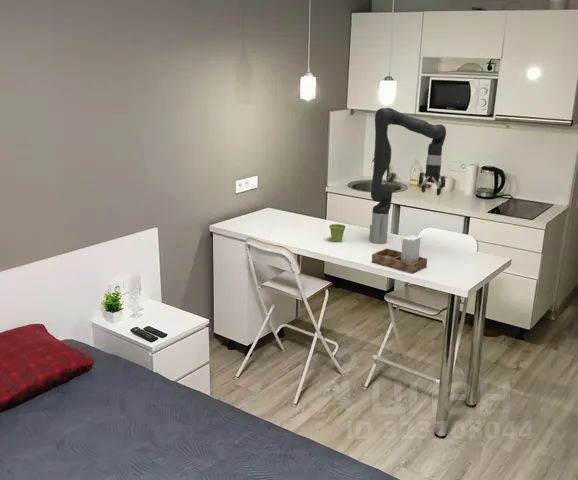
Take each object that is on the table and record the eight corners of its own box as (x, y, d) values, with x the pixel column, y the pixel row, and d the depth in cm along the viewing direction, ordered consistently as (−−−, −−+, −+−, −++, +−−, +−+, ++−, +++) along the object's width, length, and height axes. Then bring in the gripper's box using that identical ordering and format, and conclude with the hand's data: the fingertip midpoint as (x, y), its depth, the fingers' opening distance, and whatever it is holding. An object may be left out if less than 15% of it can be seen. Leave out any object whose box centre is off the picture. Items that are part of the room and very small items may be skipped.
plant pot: (325, 239, 354) (326, 224, 351) (339, 237, 358) (340, 223, 355) (333, 243, 346) (334, 229, 343) (348, 241, 350) (348, 227, 347)
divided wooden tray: (371, 262, 316) (372, 254, 315) (386, 256, 326) (387, 248, 325) (412, 273, 301) (413, 264, 300) (426, 266, 311) (427, 258, 310)
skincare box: (408, 262, 315) (411, 234, 311) (418, 264, 311) (421, 236, 307) (399, 265, 309) (402, 237, 305) (410, 268, 305) (412, 240, 301)
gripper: (417, 162, 321) (415, 192, 326) (442, 166, 312) (439, 197, 317) (425, 160, 326) (422, 190, 331) (449, 164, 318) (446, 194, 322)
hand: (430, 193), depth 324 cm, fingers open, 8 cm apart
